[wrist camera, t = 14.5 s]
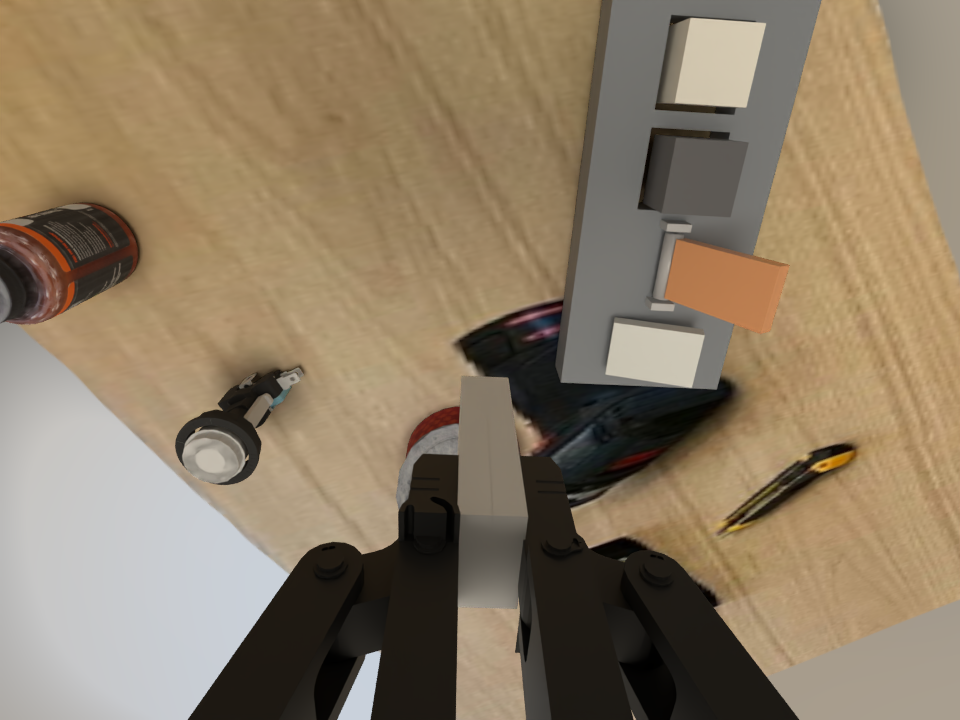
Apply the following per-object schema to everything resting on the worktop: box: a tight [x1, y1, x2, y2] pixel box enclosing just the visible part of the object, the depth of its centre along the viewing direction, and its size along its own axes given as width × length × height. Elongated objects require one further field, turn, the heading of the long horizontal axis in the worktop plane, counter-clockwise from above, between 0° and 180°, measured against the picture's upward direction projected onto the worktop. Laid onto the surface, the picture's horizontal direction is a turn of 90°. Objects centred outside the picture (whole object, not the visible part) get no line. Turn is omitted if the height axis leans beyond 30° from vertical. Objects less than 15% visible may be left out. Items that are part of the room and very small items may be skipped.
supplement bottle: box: [0, 203, 138, 325], centre depth 35 cm, size 6×6×11 cm
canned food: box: [396, 407, 521, 509], centre depth 45 cm, size 11×10×10 cm
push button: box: [175, 368, 304, 485], centre depth 40 cm, size 7×5×10 cm
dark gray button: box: [643, 134, 749, 217], centre depth 34 cm, size 4×4×4 cm
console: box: [555, 0, 821, 389], centre depth 37 cm, size 26×12×4 cm, turn 177°
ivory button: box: [656, 18, 766, 108], centre depth 33 cm, size 4×4×4 cm
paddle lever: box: [653, 232, 790, 334], centre depth 35 cm, size 4×1×8 cm
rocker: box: [605, 317, 705, 388], centre depth 39 cm, size 4×6×1 cm, turn 87°
